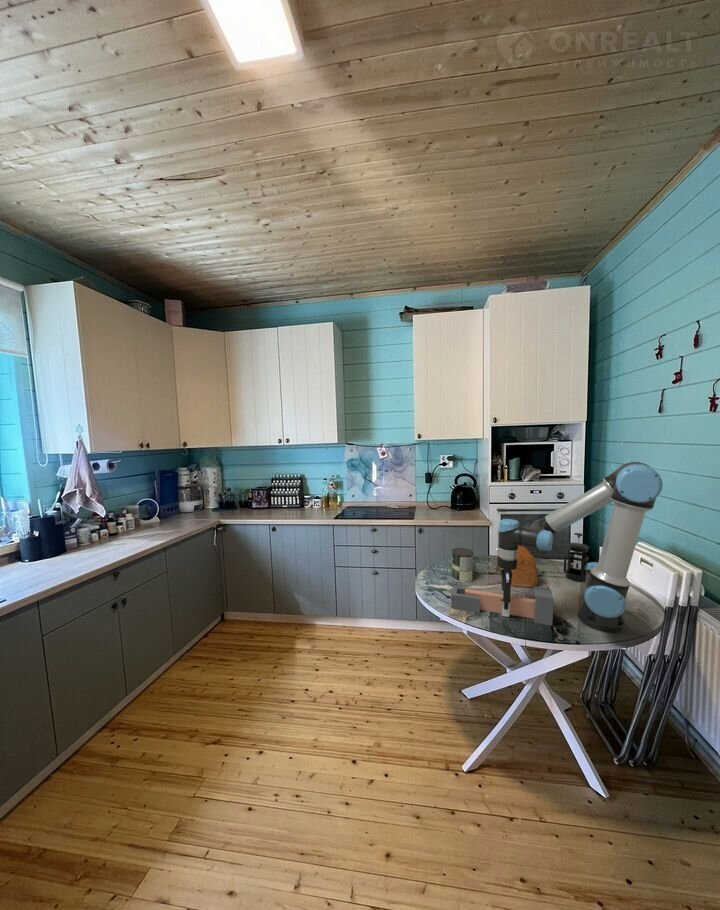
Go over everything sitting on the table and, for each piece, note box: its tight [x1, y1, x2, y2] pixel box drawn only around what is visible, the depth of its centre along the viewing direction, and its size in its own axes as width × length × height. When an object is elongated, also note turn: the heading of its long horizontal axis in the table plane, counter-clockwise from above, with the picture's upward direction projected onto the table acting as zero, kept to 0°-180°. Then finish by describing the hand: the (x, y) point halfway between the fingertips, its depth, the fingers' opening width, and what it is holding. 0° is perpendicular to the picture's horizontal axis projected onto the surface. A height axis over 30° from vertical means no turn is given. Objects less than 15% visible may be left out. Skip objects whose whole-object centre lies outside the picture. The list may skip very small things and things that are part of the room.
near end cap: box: [532, 585, 555, 627], centre depth 140 cm, size 6×9×11 cm, turn 160°
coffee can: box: [451, 547, 474, 584], centre depth 176 cm, size 10×10×14 cm
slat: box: [465, 589, 535, 619], centre depth 146 cm, size 28×3×7 cm, turn 70°
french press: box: [562, 532, 590, 583], centre depth 177 cm, size 12×9×23 cm
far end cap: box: [450, 585, 482, 614], centre depth 150 cm, size 12×9×6 cm
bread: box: [496, 545, 539, 588], centre depth 180 cm, size 14×27×15 cm, turn 172°
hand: (505, 611), depth 145 cm, fingers open, 7 cm apart
